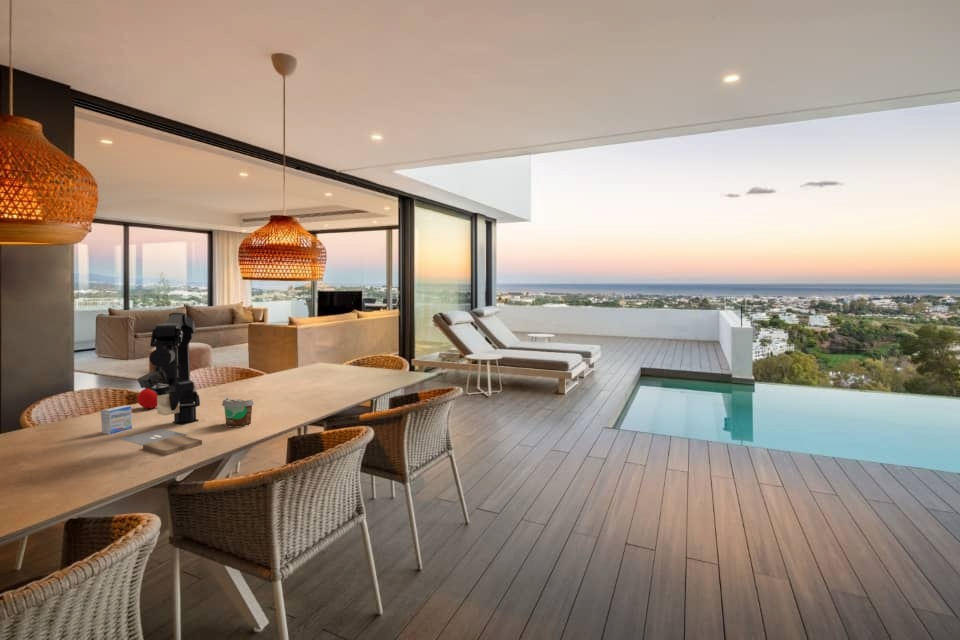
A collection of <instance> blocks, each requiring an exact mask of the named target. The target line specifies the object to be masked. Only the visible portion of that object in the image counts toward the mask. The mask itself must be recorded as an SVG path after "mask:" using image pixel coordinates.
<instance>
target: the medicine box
mask: <svg viewBox="0 0 960 640" xmlns="http://www.w3.org/2000/svg"><path fill="white" fill-rule="evenodd" d="M100 415H101V416H100V419H101V433H102V434H105V435H106V434H107V435H113V434H116V433H117V434H118V433H121V432H124V431H127V430H131V429H133V421H132V420H133V419H132V417H133V416H132V406H131V405H126V404H125V405H120V406H116V407H115V406H114V407H110V408H106V409H102V410H100Z"/></svg>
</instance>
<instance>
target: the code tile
mask: <svg viewBox="0 0 960 640" xmlns="http://www.w3.org/2000/svg"><path fill="white" fill-rule="evenodd" d="M177 435H182V436H186V437H189V434H185V433H182V432H178V431H173V430H168V429H164V428H157V429H154V430H150V431H146V432H145V431H144V432H142V433H138V434H134V435H129V436H127V437H123V438H120V440H122V441H125V442H130V443H133V444H137V445H141V446H143V445H144V444H148V443H151V442H155V441H159V440H162V439H166V438H170V437H173V436H177Z"/></svg>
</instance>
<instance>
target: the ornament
mask: <svg viewBox="0 0 960 640" xmlns="http://www.w3.org/2000/svg"><path fill="white" fill-rule="evenodd" d="M137 402H138V404H139V406H141V407H142V408H144V409H149V408H150V409H155V408H156V407H157V394H156V393H155V392H153V391H152V390H150V389H146V388H144V389H142V390H141V391H140V392H139V394H138V395H137Z"/></svg>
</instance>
